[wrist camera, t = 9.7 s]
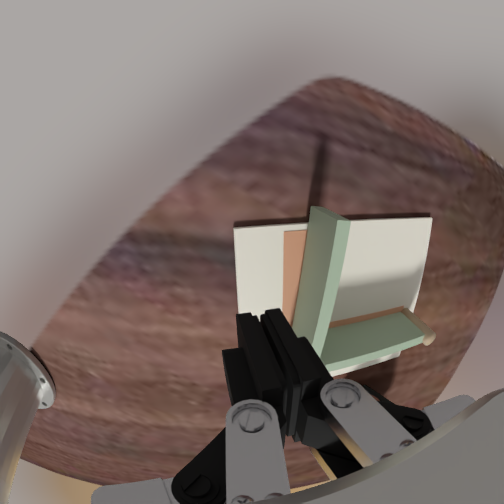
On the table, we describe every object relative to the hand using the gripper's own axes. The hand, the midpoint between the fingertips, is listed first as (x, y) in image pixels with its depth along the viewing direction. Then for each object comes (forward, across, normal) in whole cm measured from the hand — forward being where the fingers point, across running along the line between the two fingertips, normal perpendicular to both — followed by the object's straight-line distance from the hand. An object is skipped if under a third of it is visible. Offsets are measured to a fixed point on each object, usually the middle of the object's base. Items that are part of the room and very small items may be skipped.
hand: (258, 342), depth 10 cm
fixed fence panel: (+11, -13, +9) cm, 20 cm away
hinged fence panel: (+11, -7, +4) cm, 13 cm away
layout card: (+11, -11, +7) cm, 17 cm away
